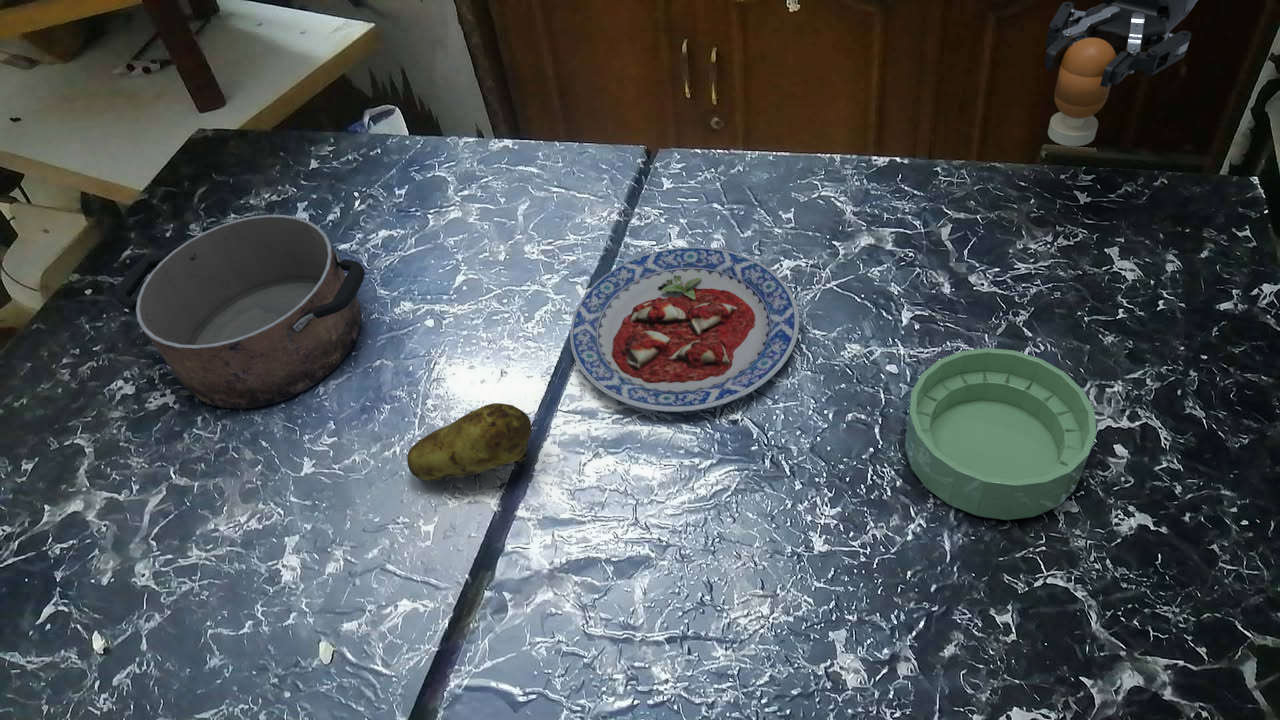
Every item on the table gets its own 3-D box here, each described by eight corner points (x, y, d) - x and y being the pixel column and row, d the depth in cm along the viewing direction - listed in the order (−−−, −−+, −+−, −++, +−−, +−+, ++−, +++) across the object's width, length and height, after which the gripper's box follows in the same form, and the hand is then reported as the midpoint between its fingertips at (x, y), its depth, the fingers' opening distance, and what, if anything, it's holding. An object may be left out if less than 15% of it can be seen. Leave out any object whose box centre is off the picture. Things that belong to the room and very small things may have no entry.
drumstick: (1086, 117, 103) (1109, 24, 95) (1104, 143, 100) (1131, 49, 92) (1038, 124, 104) (1058, 32, 96) (1055, 150, 100) (1077, 57, 92)
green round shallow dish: (1044, 379, 95) (1057, 338, 91) (1109, 511, 84) (1126, 472, 80) (887, 398, 96) (891, 359, 92) (930, 532, 85) (937, 494, 81)
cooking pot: (416, 282, 118) (390, 215, 110) (351, 419, 103) (315, 353, 95) (208, 276, 124) (168, 213, 116) (118, 404, 109) (66, 341, 101)
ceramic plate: (777, 439, 94) (776, 421, 92) (542, 405, 101) (536, 387, 99) (815, 270, 110) (815, 251, 108) (610, 251, 117) (607, 233, 115)
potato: (439, 426, 101) (417, 378, 95) (549, 442, 98) (534, 393, 92) (407, 488, 96) (382, 441, 90) (523, 508, 92) (504, 460, 86)
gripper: (1095, -48, 102) (1017, 18, 95) (1233, -18, 95) (1160, 55, 87) (1080, 16, 108) (1005, 83, 101) (1209, 49, 100) (1138, 124, 93)
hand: (1077, 70), depth 94 cm, fingers closed on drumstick, 5 cm apart
